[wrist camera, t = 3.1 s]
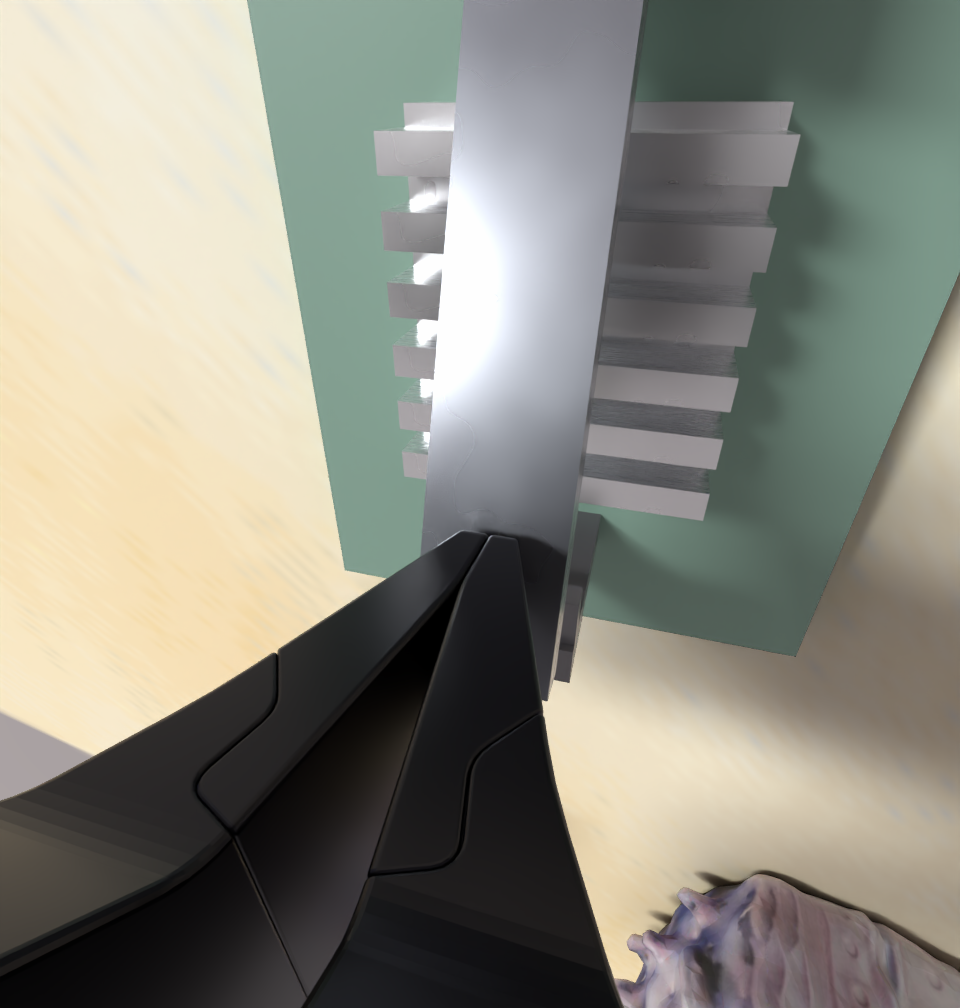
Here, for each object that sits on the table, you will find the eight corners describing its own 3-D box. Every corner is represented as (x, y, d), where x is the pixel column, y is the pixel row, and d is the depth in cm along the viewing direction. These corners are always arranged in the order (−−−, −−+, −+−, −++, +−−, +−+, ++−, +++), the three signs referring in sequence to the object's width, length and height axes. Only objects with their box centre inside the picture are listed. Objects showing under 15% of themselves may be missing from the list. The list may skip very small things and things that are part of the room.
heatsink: (782, 100, 11) (808, 102, 9) (697, 468, 16) (699, 535, 13) (429, 101, 13) (371, 103, 10) (443, 435, 17) (405, 489, 15)
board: (1225, -451, 8) (1300, -526, 7) (790, 628, 19) (795, 656, 18) (234, -282, 11) (193, -316, 10) (359, 549, 23) (344, 570, 22)
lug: (605, 479, 17) (577, 612, 12) (597, 541, 18) (569, 683, 14) (521, 467, 17) (466, 591, 13) (518, 528, 18) (468, 660, 14)
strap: (483, -249, 8) (464, -328, 7) (714, -282, 7) (723, -373, 6) (413, 643, 10) (394, 666, 10) (573, 677, 10) (566, 706, 9)
